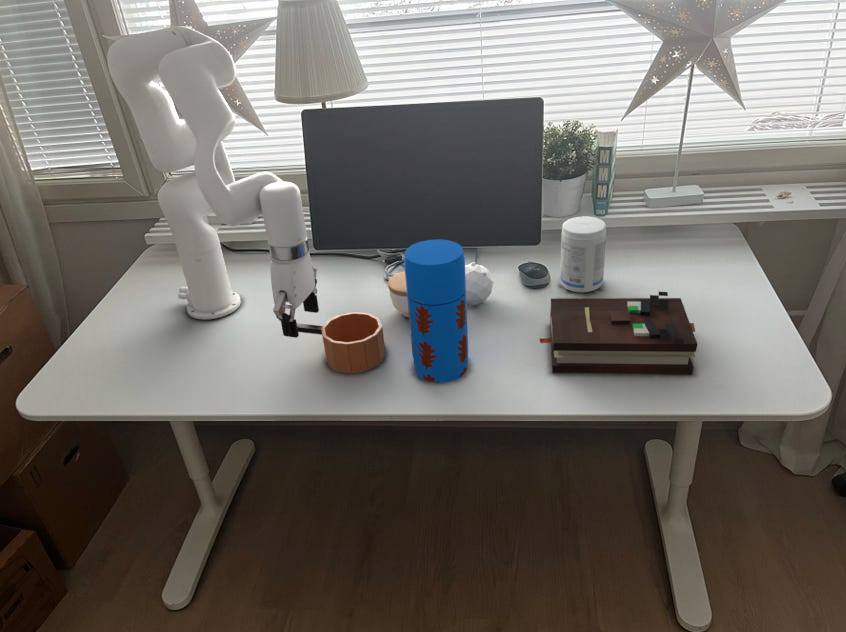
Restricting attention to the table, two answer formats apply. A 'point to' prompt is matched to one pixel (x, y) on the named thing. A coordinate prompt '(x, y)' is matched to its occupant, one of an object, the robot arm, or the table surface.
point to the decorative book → (621, 336)
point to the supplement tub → (582, 254)
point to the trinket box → (399, 293)
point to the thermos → (437, 309)
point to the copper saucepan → (351, 341)
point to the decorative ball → (477, 283)
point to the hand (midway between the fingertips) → (301, 323)
